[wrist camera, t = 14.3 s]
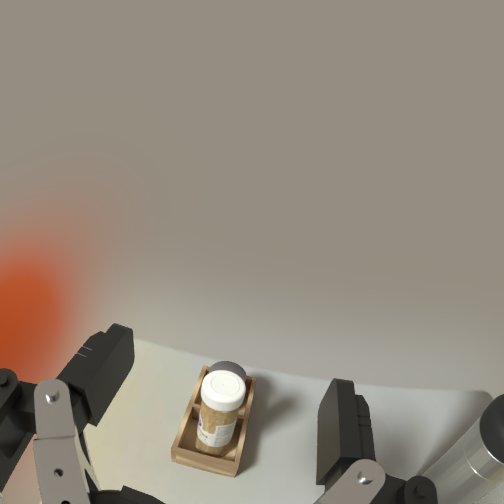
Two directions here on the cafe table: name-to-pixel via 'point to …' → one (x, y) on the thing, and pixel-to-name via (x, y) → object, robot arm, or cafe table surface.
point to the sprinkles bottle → (218, 411)
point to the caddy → (187, 434)
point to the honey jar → (229, 368)
